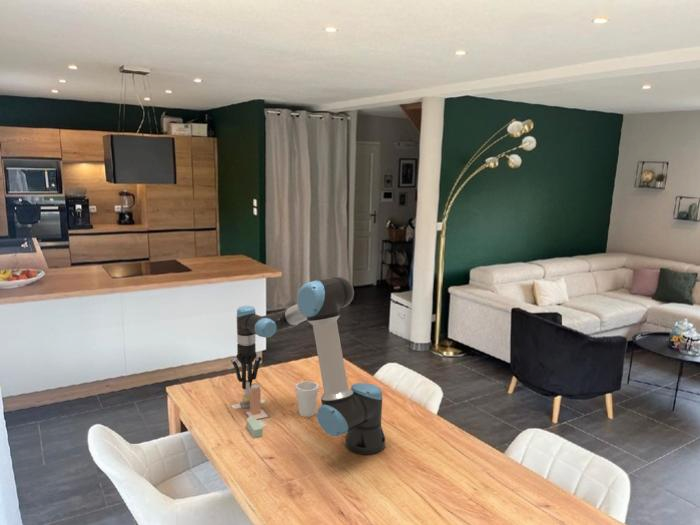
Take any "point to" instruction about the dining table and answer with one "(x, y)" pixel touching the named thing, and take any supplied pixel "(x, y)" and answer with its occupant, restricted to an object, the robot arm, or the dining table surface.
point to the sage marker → (254, 427)
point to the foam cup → (307, 398)
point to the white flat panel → (258, 416)
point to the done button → (246, 399)
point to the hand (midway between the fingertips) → (247, 395)
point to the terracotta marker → (255, 399)
